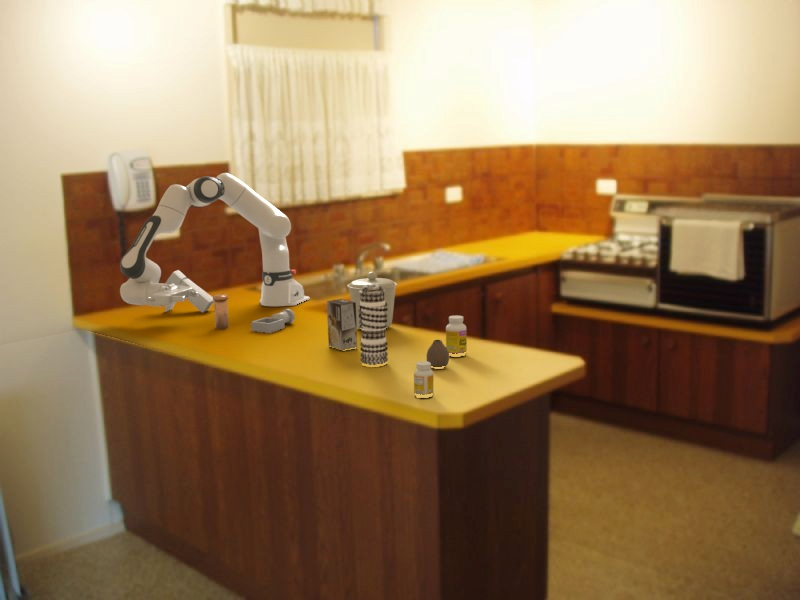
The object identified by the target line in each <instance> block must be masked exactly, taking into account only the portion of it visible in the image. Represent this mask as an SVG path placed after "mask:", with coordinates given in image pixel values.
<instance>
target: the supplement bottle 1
mask: <svg viewBox="0 0 800 600" xmlns="http://www.w3.org/2000/svg"><path fill="white" fill-rule="evenodd" d="M415 366H416V369H415V370H414V371H413V393H416V394H420V395H421V394H422V395H425V394H426V395H427V394H431V393H433V394H434V371H433V369H432V368H431V363H430V362H427V360H426V361H425V360H423V361H417V362H416V364H415Z"/></svg>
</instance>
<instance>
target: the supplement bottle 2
mask: <svg viewBox="0 0 800 600" xmlns="http://www.w3.org/2000/svg"><path fill="white" fill-rule="evenodd" d="M463 322H464V316H463V315H450V316H448V323H447V325H446V326H445V347H446V348H447V350H448V353H452V354H455V353H456V354H458V353H464V352H466V351H467V343H468V341H467V340H468V339H467V332H468V331H467V326H466V324H464V323H463Z"/></svg>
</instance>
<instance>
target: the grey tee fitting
mask: <svg viewBox="0 0 800 600" xmlns="http://www.w3.org/2000/svg"><path fill="white" fill-rule="evenodd" d="M295 317H296V316H295V313H294V311H293V309H291V308H285V309H282V310H281V311H280V312H278V313H273V314H272V315H271V316H270V317H267V316H266V317H262V318H259V319H256V320H252V321H250V323H251V331H252V332H255V331H257V332H256V333H263V332H265V333H264V334H273V333H275V331H276V332H279V331H281V330H280V329H282V330H284V329H283V328H286V327H285V325H289V323H290V324H293V322H294V321H295ZM285 323H287V324H285ZM278 330H279V331H278ZM272 332H273V333H272Z"/></svg>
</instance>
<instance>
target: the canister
mask: <svg viewBox="0 0 800 600" xmlns="http://www.w3.org/2000/svg"><path fill="white" fill-rule="evenodd" d="M366 276H367V277H366V278H364V277H363V278H359V279H354V280H353V281H351V282H350V283H348V284H347V288H348V289H349V295H350V296H349V297H350V301H352V302H356V323H357V329H358V328H359V329H358V330H360V325H361V324H359V321H360V320H361V319H360V318H359V314H360V313H359V312H358V310H359V309H360V307H359V306H360V300H361V297H360V292H359V291H360V290H361V289H362V288H363V287H364V286H366V285H379V286H381V287H382V288H383V290H385V292H384V297H385V303H387V304H388V305H387V306H385V307H384V308H387V309H388V310H387V311H386V312H385V311H384V314H387V317H386V318H385V319H387V322H386V323H385V325H386V326H387V329H389V328H390V327H391V326H392V322H393V319H394V317H393V315H394V308H395V307H394V306H395V295H396V287H397V286H398V283H397V282H395V281H393V280H392V279H389V278H384V277H383V278H382V277H378V274H377V273H376V272H374V271H370V272H368V273H367V275H366ZM361 316H362V315H361ZM388 327H389V328H388Z"/></svg>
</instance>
